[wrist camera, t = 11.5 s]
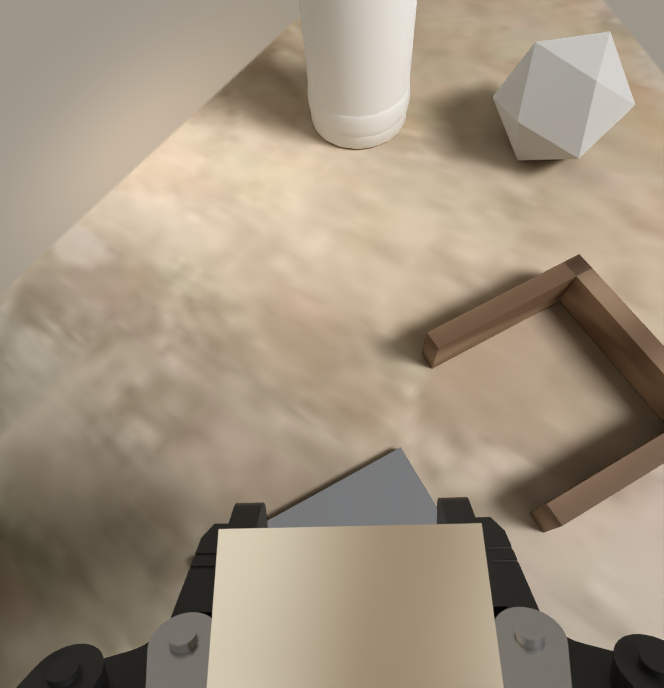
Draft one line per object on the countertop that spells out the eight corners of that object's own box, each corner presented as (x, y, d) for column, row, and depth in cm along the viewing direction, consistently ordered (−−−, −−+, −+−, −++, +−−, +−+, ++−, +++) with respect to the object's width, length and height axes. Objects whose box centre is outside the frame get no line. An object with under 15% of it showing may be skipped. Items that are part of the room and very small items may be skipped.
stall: (421, 353, 34) (427, 332, 31) (562, 280, 36) (579, 254, 33) (543, 532, 29) (562, 525, 26) (700, 436, 31) (732, 420, 28)
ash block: (281, 732, 15) (192, 879, 7) (285, 564, 17) (218, 528, 9) (438, 731, 15) (529, 880, 7) (424, 561, 17) (481, 523, 9)
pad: (197, 561, 29) (194, 560, 29) (399, 449, 31) (400, 447, 31) (302, 834, 24) (301, 839, 23) (536, 677, 26) (540, 679, 26)
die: (581, 105, 44) (538, -3, 38) (671, 120, 37) (636, -9, 31) (507, 176, 45) (454, 81, 39) (582, 204, 38) (531, 94, 32)
